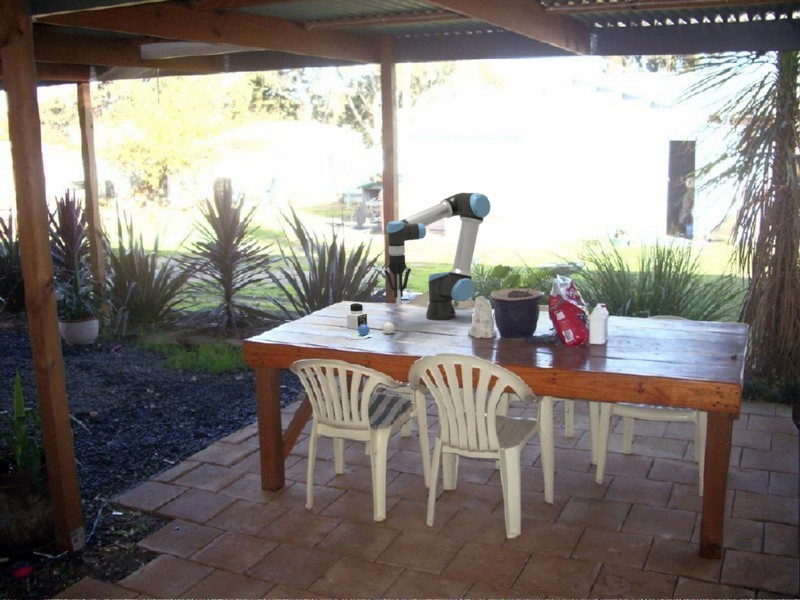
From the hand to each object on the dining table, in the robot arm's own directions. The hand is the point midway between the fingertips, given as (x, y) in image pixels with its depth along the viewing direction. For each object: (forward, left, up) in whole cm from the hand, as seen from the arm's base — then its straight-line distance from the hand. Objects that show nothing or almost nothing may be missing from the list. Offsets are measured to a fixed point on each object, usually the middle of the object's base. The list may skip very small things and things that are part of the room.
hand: (398, 303), depth 385 cm
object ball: (+17, 0, -11) cm, 21 cm away
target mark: (+20, 0, -14) cm, 24 cm away
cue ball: (+6, 0, -11) cm, 12 cm away
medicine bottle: (+17, -19, -14) cm, 29 cm away
